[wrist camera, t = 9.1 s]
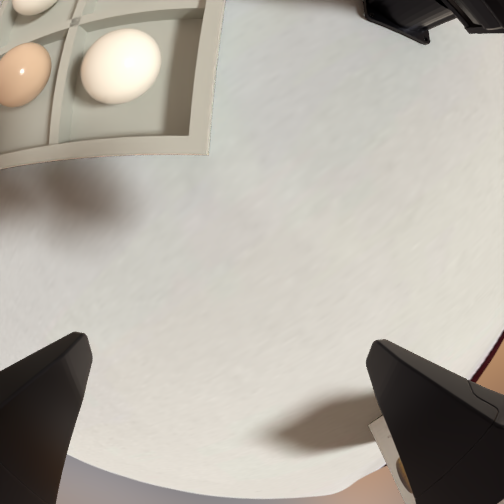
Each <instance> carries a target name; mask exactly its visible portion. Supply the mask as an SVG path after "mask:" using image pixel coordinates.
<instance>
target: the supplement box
mask: <svg viewBox="0 0 504 504" xmlns="http://www.w3.org/2000/svg"><path fill="white" fill-rule="evenodd" d="M368 427H369V428H370V430H371V432H372V434H373V437H374V439H375V441H376V443H377V445H378V447H379V449H380V451H381V453H382V455H383V457H384V459H385V462H386V464H387V466H388V468H389V470H390V472H391V474H392V476H393V478H394V480H395V483H396V485H397V487H398V489H399V491H400V494H401V496H402V498H403V500H404V502H405V504H416V502H415V498H414V496H413V493H412V490H411V487H410V484H409V481H408V479H407V476H406V473H405V470H404V468H403V465H402V462H401V460H400V457H399V454H398V452H397V449H396V447H395V444H394V442H393V439H392V436H391V434H390V431H389V429H388V427H387V424H386V422H385V419H384V417H383V416H381V417H380V418H378V419H377V420H375V421H374V422H372V423H371V424H369V425H368Z"/></svg>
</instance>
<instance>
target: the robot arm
mask: <svg viewBox="0 0 504 504" xmlns="http://www.w3.org/2000/svg"><path fill="white" fill-rule="evenodd" d="M363 1H364V12H365V17H366V18H367V19H368V20H370V21H372V22H375V23H377V24H380V25H382V26H385V27H387V28H390V29H392V30H394V31H397V32H399V33H401V34H403V35H405V36H408V37H410V38H412V39H414V40H416V41H418V42H420V43H422V44H424V45H427V44H429V43H430V38H429V31H428V30H429V29H431V28H433V27H436V26H438V25H440V24H443V23H445V22H448V21H450V20H453V19H455V18H458V19H459V21H460V22H461V23H462V24H463V25H464V27H465V29H466V30H467V32H468V33H469V34H473V33H477V34H482V33H504V0H363ZM371 15H372V16H373V17H372V16H371ZM424 39H425V40H424ZM91 364H92V352H91V348H90V345H89V341H88V338H87V335H86V334H85V333H80V332H72V333H70V334H68V335H67V336H65V337H63V338H61V339H59V340H57V341H55V342H53V343H52V344H50V345H48V346H46V347H44V348H42V349H40V350H39V351H37V352H35V353H33V354H31V355H29V356H27V357H26V358H24V359H22V360H20V361H18V362H16V363H14V364H13V365H11V366H9V367H7V368H5V369H4V370H2V371H0V504H56V499H57V494H58V489H59V484H60V479H61V475H62V470H63V467H64V462H65V458H66V455H67V451H68V447H69V444H70V440H71V437H72V433H73V430H74V427H75V423H76V420H77V417H78V414H79V411H80V408H81V405H82V401H83V398H84V393H85V389H86V385H87V380H88V376H89V372H90V368H91ZM366 367H367V370H368V373H369V376H370V380H371V383H372V386H373V389H374V393H375V396H376V399H377V402H378V405H379V407H380V410H381V412H382V414H383V417H384V419H385V422H386V424H387V427H388V429H389V431H390V434H391V436H392V439H393V442H394V444H395V447H396V449H397V452H398V454H399V457H400V460H401V462H402V465H403V468H404V470H405V473H406V476H407V479H408V481H409V484H410V487H411V490H412V493H413V496H414V498H415V502H416V504H504V395H503V394H500V393H497V392H495V391H492V390H490V389H487V388H485V387H482V386H481V385H478V384H476V383H474V382H472V381H470V380H467V379H466V378H463V377H461V376H459V375H457V374H455V373H453V372H451V371H449V370H447V369H445V368H443V367H441V366H439V365H437V364H435V363H432V362H430V361H428V360H426V359H424V358H422V357H420V356H418V355H416V354H414V353H412V352H410V351H408V350H406V349H404V348H402V347H400V346H398V345H396V344H394V343H392V342H390V341H388V340H386V339H382V340H376V341H374V342H373V344H372V346H371V349H370V351H369V354H368V357H367V359H366Z"/></svg>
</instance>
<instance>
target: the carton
mask: <svg viewBox="0 0 504 504" xmlns="http://www.w3.org/2000/svg"><path fill="white" fill-rule="evenodd" d="M225 3H226V0H58V1H57V2H56V3H55V4H54V5H53V6H51V7H50V8H49V9H47V10H45V11H43V12H41V13H39V14H36V15H31V16H25V15H21V14H19V13H17V12H16V11H15V10H14V8H13V5H12V0H3V2H2V5H1V7H0V59H1V58H2V57H3V56H4V55H5V54H6V53H7V52H8V51H9V50H11V49H12V48H14V47H15V46H17V45H20V44H23V43H29V42H32V43H37V44H40V45H42V46H43V47H44V48H45V49H46V50H47V51H48V53H49V54H50V57H51V62H52V68H51V74H50V77H49V80H48V82H47V84H46V86H45V88H44V89H43V90H42V92H41V93H40V94H39V95H38V96H37V97H36V98H35V99H34V100H32V101H31V102H29V103H28V104H25V105H23V106H20V107H14V108H11V107H6V106H3V105H1V104H0V169H6V168H11V167H17V166H23V165H30V164H36V163H44V162H51V161H60V160H69V159H80V158H92V157H106V156H126V155H209V145H210V132H211V120H212V109H213V98H214V88H215V78H216V69H217V61H218V52H219V44H220V37H221V30H222V22H223V16H224V9H225ZM122 28H133V29H138V30H141V31H144V32H146V33H147V34H149V35H150V36H152V38H153V39H154V40H155V41H156V42H157V44H158V46H159V48H160V51H161V56H162V63H161V69H160V72H159V75H158V77H157V79H156V81H155V82H154V84H153V85H152V86H151V88H150V89H149V90H148V91H147V92H146V93H144V94H143V95H142V96H140V97H139V98H137V99H135V100H133V101H130V102H127V103H124V104H114V105H112V104H106V103H102V102H99V101H97V100H95V99H94V98H92V97H91V96H90V95H89V94H88V93H87V91H86V90H85V88H84V86H83V84H82V81H81V65H82V61H83V58H84V56H85V54H86V52H87V51H88V49H89V48H90V46H91V45H92V44H93V43H94V42H95V41H96V40H97V39H99V38H100V37H101V36H103V35H105V34H106V33H109V32H111V31H114V30H117V29H122Z"/></svg>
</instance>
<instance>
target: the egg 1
mask: <svg viewBox="0 0 504 504" xmlns="http://www.w3.org/2000/svg"><path fill="white" fill-rule="evenodd" d="M57 1H58V0H12V5H13V8H14V10H15V11H16V12H17V13H19V14H21V15H25V16H31V15H36V14H39V13H41V12H43V11H45V10H47V9H49V8H50V7H51V6H53V5H54V4H55V3H56V2H57Z"/></svg>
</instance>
